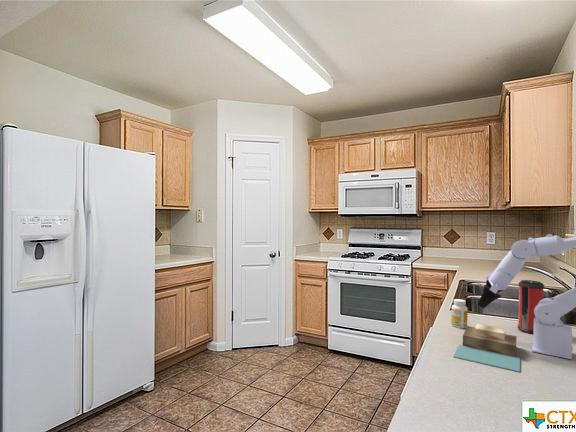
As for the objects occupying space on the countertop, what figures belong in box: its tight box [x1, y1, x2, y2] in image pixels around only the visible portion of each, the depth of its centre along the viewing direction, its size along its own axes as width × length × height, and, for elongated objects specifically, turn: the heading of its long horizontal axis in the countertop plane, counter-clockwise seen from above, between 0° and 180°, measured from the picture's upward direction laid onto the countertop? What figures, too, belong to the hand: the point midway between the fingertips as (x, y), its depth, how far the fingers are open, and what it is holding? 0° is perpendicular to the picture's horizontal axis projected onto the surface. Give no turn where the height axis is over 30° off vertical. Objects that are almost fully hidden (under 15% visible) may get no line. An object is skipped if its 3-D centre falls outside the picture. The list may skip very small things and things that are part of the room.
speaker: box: [517, 279, 546, 335], centre depth 125 cm, size 8×8×18 cm
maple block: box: [474, 323, 506, 340], centre depth 109 cm, size 8×6×2 cm
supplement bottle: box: [450, 298, 468, 329], centre depth 129 cm, size 5×5×10 cm
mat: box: [453, 344, 521, 373], centre depth 100 cm, size 16×11×1 cm
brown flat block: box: [462, 326, 518, 357], centre depth 109 cm, size 14×10×4 cm
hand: (481, 303), depth 118 cm, fingers open, 7 cm apart
